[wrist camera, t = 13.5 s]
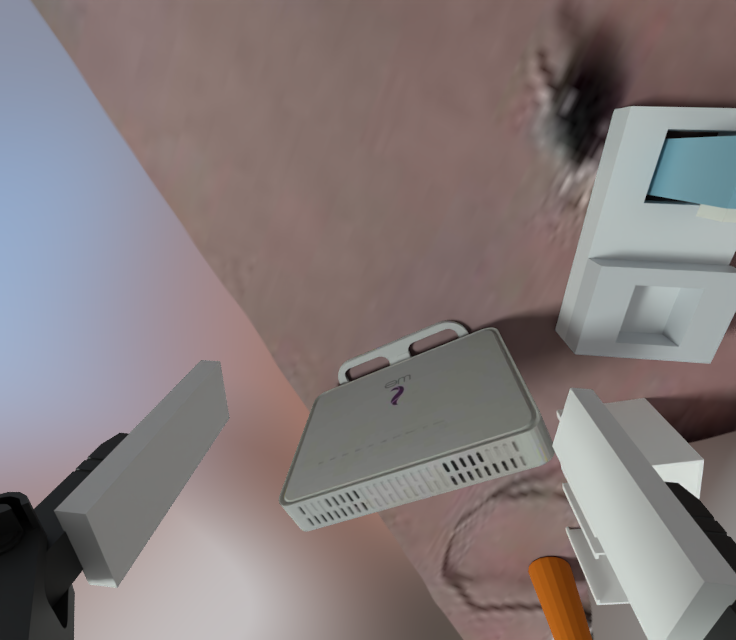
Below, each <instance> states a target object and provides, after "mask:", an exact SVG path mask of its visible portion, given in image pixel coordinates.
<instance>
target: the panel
mask: <svg viewBox="0 0 736 640" xmlns="http://www.w3.org/2000/svg"><path fill="white" fill-rule="evenodd" d="M667 131H681V132H719V133H718V136H736V108H698V107H649V106H629V107H624V108H619V109H614V112H613V116H612V120H611V123H610V127H609V131H608V134H607V138H606V142H605V146H604V149H603V153H602V157H601V161H600V164H599V168H598V172H597V176H596V179H595V183H594V187H593V190H592V194H591V198H590V202H589V205H588V209H587V213H586V217H585V220H584V224H583V228H582V231H581V235H580V239H579V243H578V246H577V250H576V254H575V258H574V261H573V265H572V269H571V272H570V276H569V280H568V284H567V287H566V291H565V295H564V299H563V302H562V306H561V310H560V314H559V317H558V321H557V325H556V328H555V331H556V332H557V333H558V334H559V336H560V337H561V338H562V339H563V340H564V342H565V343H566V344H567V345H568V347H569V348H570V349H571V350H572V351H573V353H574V354H578V355H593V356H607V357H622V358H637V359H651V360H666V361H681V362H695V363H711V361H712V359H713V357H714V355H715V353H716V351H717V349H718V347H719V345H720V343H721V341H722V339H723V336H724V334H725V332H726V330H727V328H728V326H729V324H730V322H731V320H732V318H733V316H734V314H735V312H736V267H733V266H730V265H729V264H730V262H731V260H732V258H733V255H734V253H735V251H736V223H734V222H720V221H716V220H711V219H707V218H702V217H698V216H696V215H697V212H698V209H699V207H700V204H698V203H693V202H679V201H653V200H645V198H646V195H647V192H648V189H649V185H650V182H651V179H652V176H653V173H654V170H655V167H656V164H657V161H658V158H659V155H660V152H661V149H662V146H663V143H664V140H665V137H666V134H667ZM718 136H717V137H718Z"/></svg>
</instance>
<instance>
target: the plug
mask: <svg viewBox="0 0 736 640" xmlns="http://www.w3.org/2000/svg"><path fill="white" fill-rule="evenodd" d="M647 194H648V195H654V196H659V197H665V198H670V199H676V200H681V201H687V202H693V203H698V204H700V207H699V209H698V212H697V215H696V216H698V217H702V218H707V219H711V220H716V221H720V222H734V223H736V136H718V137H696V138H675V139H665V140H664V143H663V146H662V149H661V152H660V155H659V158H658V161H657V164H656V167H655V170H654V173H653V176H652V179H651V182H650V185H649V189H648V192H647Z"/></svg>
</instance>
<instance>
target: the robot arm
mask: <svg viewBox="0 0 736 640" xmlns="http://www.w3.org/2000/svg"><path fill="white" fill-rule="evenodd" d="M228 419H229V413H228V406H227V400H226V394H225V388H224V383H223V376H222V370H221V364H220V362H219V361H206V360H205V361H204V360H201V361H200V362H199V363H198V364H197V365H196V366H195V367H194V368H193V369H192V370H191V371H190V372H189V373H188V374H187V375H186V376H185V377H184V378H183V379H182V380H181V381H180V382H179V383H178V384H177V385H176V386H175V387H174V388H173V390H172V391H170V393H169V394H168V395H167V396H166V397H165V398H164V399H163V400H162V401H161V402H160V403H159V404H158V405H157V406H156V407H155V408H154V409H153V410H152V411H151V412H150V413H149V414H148V415H147V416H146V417H145V418H144V419H143V420H142V421H141V422H140V423H139V424H138V425H137V426H136V427H135V428H134V429H133V430H132V431H131V432H130V433H129V434H127V433H119V434H117V435H116V436H114V437H112V438H111V439H109V440H107V441H106V442H104V443H103V444H101V445H100V446H99V447H98V448H97V449H96V450H95V451H94V452H93V453H92V454H91V455H90V456H89V457H88V459H87V460H84V461H83V462H82V463H81V464H80V465H79V466H78V467H77V468H76V471H75V472H72V473H71V474H70V475H69V476H68V477H67V478H66V479H65V480H64V481H63V482H62V483H61V484H60V485H58V486H57V487H56V488H55V490H53V491H52V492H51V493H50V494H49V495H48V496H47V497H46V498H45V499H44V500H43V501H42V502H41V503H40V504H39V505H38V506H37V507H36V508H35V509H33V507H32V505H31V503H30V501H29V499H28V498H27V496H26V495H24V494H22V493H20V492H7V493H3V494H0V640H74V597H75V595H74V594H75V593H74V589H73V586H72V583H73V582H74V581H75V579H76V578H77V577H78V575H79V574H80V573H81V571H82V570H83V572H84V574H85V576H86V579H87V581H88V583H89V584H91V585H99V586H107V587H115V588H117V587H118V586H119V584H120V583H121V581H122V580H123V578H124V577H125V575H126V574H127V572H128V571H129V569H130V568H131V566H132V565H133V563H134V562H135V560H136V559H137V557H138V556H139V554H140V552H141V551H142V550H143V548H144V547H145V545H146V544H147V542H148V540H149V539H150V537H151V536H152V534H153V533H154V531H155V530H156V528H157V527H158V525H159V524H160V522H161V521H162V519H163V518H164V516H165V515H166V513H167V512H168V510H169V509H170V507H171V506H172V504H173V503H174V501H175V500H176V498H177V497H178V495H179V494H180V492H181V491H182V489H183V488H184V486H185V484H186V483H187V481H188V480H189V478H190V477H191V475H192V474H193V472H194V471H195V469H196V468H197V466H198V465H199V463H200V462H201V460H202V459H203V457H204V456H205V454H206V453H207V451H208V450H209V448H210V447H211V445H212V444H213V442H214V441H215V439H216V438H217V436H218V435H219V433H220V431H221V430H222V428H223V427H224V426H225V424H226V422H227V421H228ZM552 446H553V448H554V451H555V453H556V455H557V457H558V459H559V461H560V463H561V465H562V467H563V469H564V471H565V473H566V475H567V477H568V479H569V481H570V483H571V485H572V487H573V489H574V491H575V493H576V495H577V497H578V499H579V501H580V503H581V505H582V507H583V509H584V511H585V513H586V515H587V517H588V519H589V521H590V523H591V525H592V527H593V529H594V531H595V533H596V535H597V537H598V540H599V542H600V544H601V546H602V548H603V550H604V552H605V554H606V556H607V558H608V560H609V562H610V564H611V566H612V568H613V570H614V572H615V574H616V576H617V578H618V580H619V582H620V584H621V586H622V588H623V590H624V592H625V594H626V596H627V598H628V600H629V602H630V604H631V606H632V608H633V610H634V612H635V614H636V616H637V618H638V620H639V622H640V624H641V626H642V628H643V630H644V633H645V634H646V637H647V639H648V640H736V543H735V542H734V541H733V540H732V538H731V537H729V536H727V532H725V530H724V529H723V528H722V526H721V525H720V524H719V523H718V522H717V521H715V520H714V517H713V516H712V514H710V512H709V511H708V510H707V508H706V507H705V506H704V505H703V504H702V503H701V501H700V500H699V499H698V498H697V497H695V496H694V495H693V494H691V493H690V492H689V491H688V490H686V489H685V488H684V487H683V486H681V485H680V484H679V483H674V482H664V481H663V480H662V478H661V477H660V476H659V474H658V473H657V472H656V471H655V469H654V468H653V467H652V465H651V464H650V463H649V462H648V460H647V459H646V458H645V456H644V455H643V454H642V453H641V451H640V450H639V449H638V447H637V446H636V445H635V444H634V442H633V441H632V440H631V438H630V437H629V436H628V435H627V433H626V432H625V431H624V429H623V428H622V427H621V426H620V424H619V423H618V422H617V420H616V419H615V418H614V417H613V415H612V414H611V413H610V411H609V410H608V409H607V408H606V406H605V405H604V404H603V403H602V401H601V400H600V399H599V397H598V396H597V395H596V394H595V392H594V391H593V390H592V389H580V388H570V390H569V394H568V397H567V400H566V403H565V407H564V410H563V413H562V416H561V419H560V423H559V426H558V429H557V432H556V436H555V439H554V442H553V445H552Z"/></svg>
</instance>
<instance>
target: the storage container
mask: <svg viewBox="0 0 736 640" xmlns="http://www.w3.org/2000/svg"><path fill="white" fill-rule="evenodd" d="M604 405H605V406H606V408H607V409H608V410H609V411H610V413H611V414H612V415H613V417H614V418H615V419H616V420H617V422H618V423H619V424H620V426H621V427H622V428H623V429H624V431H625V432H626V433H627V435H628V436H629V437H630V438H631V440H632V441H633V442H634V444H635V445H636V446H637V447H638V449H639V450H640V451H641V453H642V454H643V455H644V456H645V458H646V459H647V460H648V462H649V463H650V464H651V465H652V467H653V468H654V469H655V471H656V472H657V473H658V474H659V476H660V477H661V478H662V480H663V481H664V482H674V483H679V484H680V485H681V486H683V487H684V488H685V489H686V490H688V491H689V492H690V493H691V494H693V495H694V496H695V497H697V498H698V499H699V498H700V490H701V481H702V474H703V465H704V459H703V458H702V457H701V456H700V455H699V454H698V453H697V452H696V451H695V450H694V449H693V448H692V447H691V446H690V445H689V443H688V442H687V441H686V440H685V439H684V438H683V437H682V436H681V435H680V434H679V433H678V432H677V431H676V430H675V429H674V428H673V427H672V426H671V425H670V424H669V423H668V422H667V421H666V420H665V419H664V418H663V417H662V415H661V414H660V413H659V412H658V411H657V410H656V409H655V408H654V407H653V406H652V405H651V404H650V403H649V402H648V401H647V400H646V399H645V398H641V399H634V400H626V401H619V402H612V403H605V404H604ZM563 410H564V409H563ZM563 410H557V417H558V419H559V421H560V419H561V416H562V413H563ZM561 469H562V471H563V473H564V475H565V477H566V479H567V482H568V483H562V485H563V490H564V492H565V494H566V497H567V499H568V501H569V503H570V505H571V507H572V510H573V512H574V514H575V516H576V518H577V520H578V522H579V525H580V527H581V528H580V529H572V530H570V529H569V527H566V532H567V535H568V537H569V540H570V542H571V544H572V547H573V549H574V551H575V554H576V556H577V559H578V561H579V563H580V566H581V568H582V570H583V573H584V575H585V578H586V580H587V582H588V585H589V587H590V589H591V592H592V594H593V596H594V599H595V601H596V604H597V605H604V604H605V605H606V604H627V603H630V602H629V600H628V598H627V596H626V594H625V592H624V590H623V588H622V586H621V584H620V582H619V580H618V578H617V576H616V574H615V572H614V570H613V568H612V566H611V564H610V562H609V560H608V558H607V556H606V554H605V552H604V550H603V548H602V546H601V544H600V542H599V540H598V537H597V535H596V533H595V531H594V529H593V527H592V525H591V523H590V521H589V519H588V517H587V515H586V513H585V511H584V509H583V507H582V505H581V503H580V501H579V499H578V497H577V495H576V493H575V491H574V489H573V487H572V485H571V483H570V481H569V479H568V477H567V475H566V473H565V471H564V469H563V467H562V465H561Z"/></svg>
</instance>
